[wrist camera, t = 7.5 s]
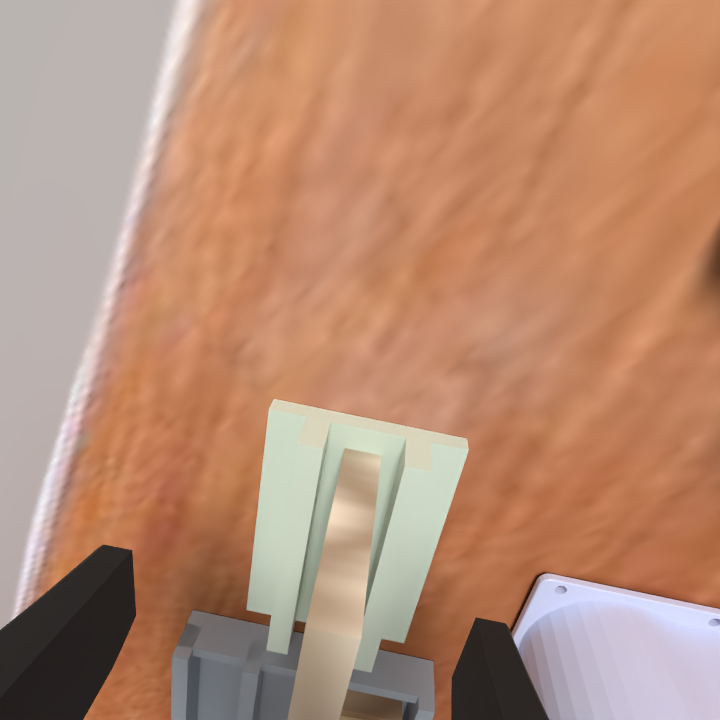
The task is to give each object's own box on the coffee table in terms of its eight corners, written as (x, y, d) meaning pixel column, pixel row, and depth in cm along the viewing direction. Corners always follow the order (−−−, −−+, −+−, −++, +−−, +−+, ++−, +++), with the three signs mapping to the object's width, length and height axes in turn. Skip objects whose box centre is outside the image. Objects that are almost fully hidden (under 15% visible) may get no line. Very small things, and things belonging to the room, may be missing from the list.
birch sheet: (381, 455, 21) (361, 638, 14) (342, 617, 25) (311, 820, 18) (344, 448, 21) (305, 627, 14) (311, 611, 25) (269, 811, 18)
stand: (466, 438, 21) (473, 479, 18) (404, 628, 26) (402, 679, 24) (274, 398, 21) (255, 434, 19) (251, 596, 26) (234, 643, 24)
